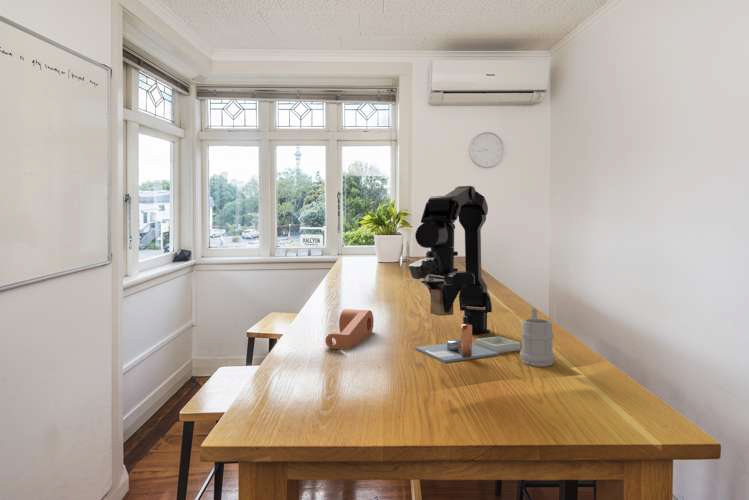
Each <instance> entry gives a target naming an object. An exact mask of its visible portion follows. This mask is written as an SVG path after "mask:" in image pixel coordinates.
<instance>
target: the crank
mask: <svg viewBox="0 0 749 500" xmlns="http://www.w3.org/2000/svg"><path fill="white" fill-rule="evenodd" d="M446 344H447V349H448V350H451V351H457V352H459V353H460V354H461V356H463V357H471V356H472V344H473V333H472V325H471V324H463V323H461V324H460V338H451V339H447V340H446Z"/></svg>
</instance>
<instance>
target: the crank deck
mask: <svg viewBox="0 0 749 500" xmlns="http://www.w3.org/2000/svg"><path fill="white" fill-rule="evenodd" d="M414 347H415V349H414V350H416V351H418V352H419V353H422V354H424V355H427V356H429V357H432V358H433V359H435V360H438V361H440V362H442V363H451V362H459V361H460V362H461V361H465V360H466V361H467V360H474V359H481V358H487V357H494V356H495V357H496V356H499V353H497V352H494V351H492V350H489V349H486V348H483V347H480V346H477V345H475V343H472V356H471V357H463V356H461V354H460V353H459V352H457V351H451V350H448V349H447V343H440V344H431V345H423V346H414Z"/></svg>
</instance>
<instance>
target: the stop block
mask: <svg viewBox="0 0 749 500" xmlns="http://www.w3.org/2000/svg"><path fill="white" fill-rule="evenodd" d="M429 312H430V314H432V315H435V316H438V317H440V316H453V315H454V304H453V305H452V307H451V309H450V311H449V312H445V311H444V303H443V291H442V289H431V294H430V311H429Z"/></svg>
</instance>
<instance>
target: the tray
mask: <svg viewBox="0 0 749 500" xmlns="http://www.w3.org/2000/svg"><path fill="white" fill-rule="evenodd" d="M474 339H475V341H474V342H475V343H474V345H477V346H480V347H483V348H486V349H489V350H492V351H494V352H497V353H498V354H503V353H510V352H520V351H521V342H519V341H516V340H513V339H510V338H506V337H502V336H500V335H499V336H492V337H491V336H490V337H481V338H474Z"/></svg>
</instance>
